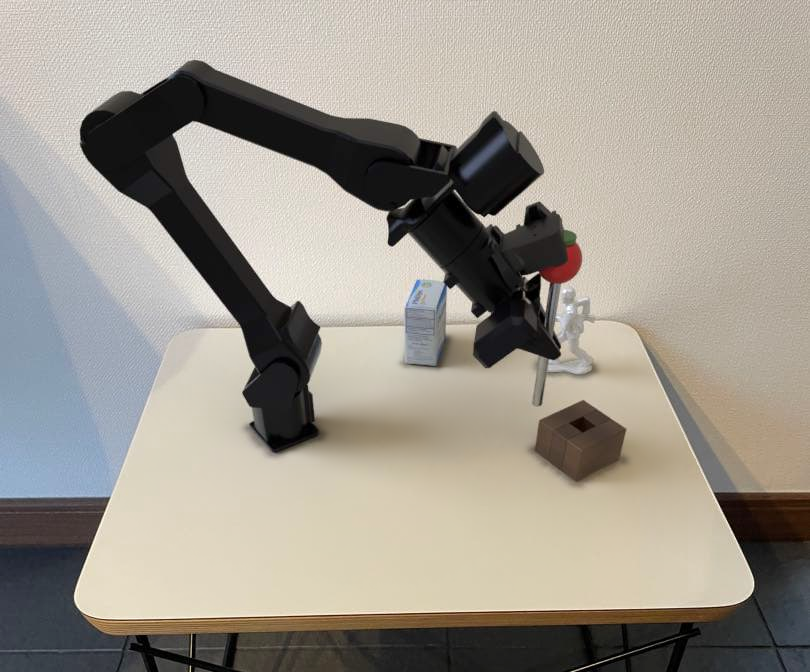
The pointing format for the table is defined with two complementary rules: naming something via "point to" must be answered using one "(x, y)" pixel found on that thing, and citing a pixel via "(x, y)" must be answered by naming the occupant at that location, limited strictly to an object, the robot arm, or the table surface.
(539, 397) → the lever
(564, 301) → the figurine
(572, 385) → the table surface
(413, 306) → the medicine box
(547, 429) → the stand
